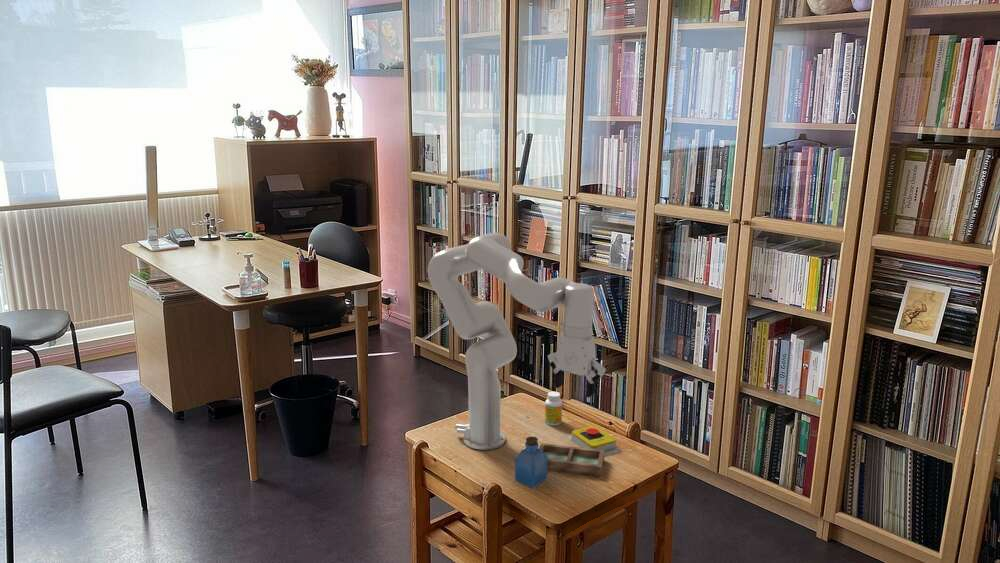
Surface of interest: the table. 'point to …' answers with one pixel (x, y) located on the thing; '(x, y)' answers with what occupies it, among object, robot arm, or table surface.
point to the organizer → (573, 459)
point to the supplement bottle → (553, 409)
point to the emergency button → (594, 439)
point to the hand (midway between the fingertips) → (574, 390)
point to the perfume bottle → (531, 464)
